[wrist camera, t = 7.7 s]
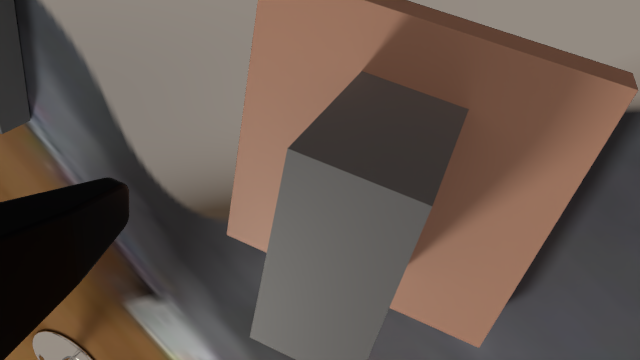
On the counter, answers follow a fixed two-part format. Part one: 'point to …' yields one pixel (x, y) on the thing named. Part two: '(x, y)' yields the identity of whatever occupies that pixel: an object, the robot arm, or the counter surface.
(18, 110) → the panel
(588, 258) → the counter surface
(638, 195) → the counter surface
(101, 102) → the counter surface
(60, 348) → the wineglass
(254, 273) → the counter surface
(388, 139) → the stub
